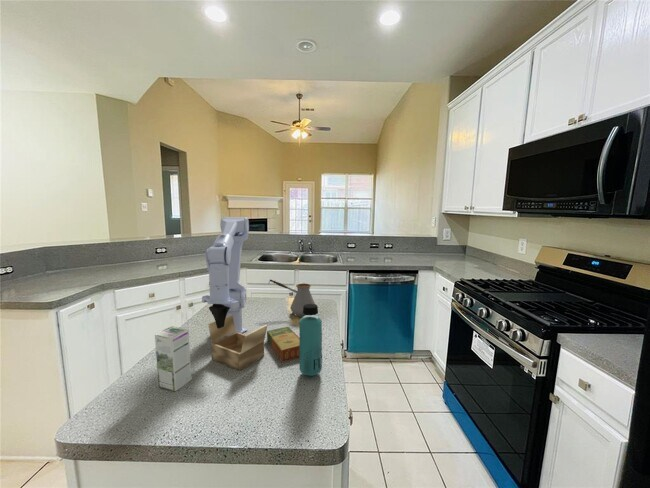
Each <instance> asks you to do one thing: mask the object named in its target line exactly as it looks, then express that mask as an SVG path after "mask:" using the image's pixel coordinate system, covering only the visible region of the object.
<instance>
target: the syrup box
mask: <svg viewBox="0 0 650 488" xmlns="http://www.w3.org/2000/svg"><path fill="white" fill-rule="evenodd" d="M189 331H190V330H189V329H188V328H182V327H178V326H173V325H172V326H170V327H167V328H165V329H162V330H159V332H157V333H155V334H154V343H155V358H156V368H157V381H158V382H157V383H158V388H162V389H165V390H168V391H173V392H177V391H178V390H180V389H181V388H182V387H184V386H185V385H187V384H188V383H189V382H191V381H192V369H191V352H190V332H189Z"/></svg>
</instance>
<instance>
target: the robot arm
mask: <svg viewBox="0 0 650 488" xmlns="http://www.w3.org/2000/svg"><path fill="white" fill-rule="evenodd" d="M219 223H220V224H219V225H220V231H221V233H220V234H218V235H217V236H216V238H215V240H214V242H213V243H212V246H210V247H209V248H207V249H206V251H205V262H206V269H207V272H208V274H209V276H208V280H209V281H208V282H209V295H202V296H201V303H206V304H209V305H211V306H209V307H208V310H209V311H210V313H211V314H212V316H213V319H214V322H216V325H217V328H218V329H219V328H222V327H224V324H225V318H226V317H227V316H230V315H233V321H234V326H235V332H233V333H236V332H238V333H242V334H244V333H245V332H246V331H247V332H248V329H249V328H246V327H244V326H243V309H244V308H245V307H246V304H247V289H246V287H245V285H243V284H242V283H240V277H241V276H240V275H241V264H242V261H241V260H242V251H243V246H244V242H246V241H247V240H248V238H249V231H250V221H249V218H248V217H247V216H222V217H221V219H220V222H219ZM233 333H231V334H233ZM231 334H229V335H231ZM229 335H227V336H229ZM227 336H226V337H227Z"/></svg>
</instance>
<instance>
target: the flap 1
mask: <svg viewBox="0 0 650 488" xmlns="http://www.w3.org/2000/svg"><path fill="white" fill-rule="evenodd" d="M207 325H208V330H209V337H210V341H211V343H214V342H216V341H219V340H221V339H223V338H225V337H227V335H229V334H231V333H233V332H235V326H234V321H233V315H230V316H227V317H226V318H225V324H224V327H222V328H219V329H218V328H217V325H216V322H215V321H213V322H209V323H208V324H207Z"/></svg>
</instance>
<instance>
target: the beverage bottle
mask: <svg viewBox="0 0 650 488" xmlns="http://www.w3.org/2000/svg"><path fill="white" fill-rule="evenodd" d="M318 313H319V309H318V304H316V303H315V304H306V305H304V306H303V314H305V316H304V317H301V318H300V319H299V321H298V324H299V328H298V331H299V338H300V344H299V358H298V361H299V371H300V373H301V374H302V375H305V376H311V377H312V376H316V375H319V374H320V373H321V372H322V370H323V369H322V368H323V351H322V350H323V348H322V347H323V343H322V342H323V329H322V328H323V327H322V325H323V320H322V319H321V318H320V317H319V316H318Z"/></svg>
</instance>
